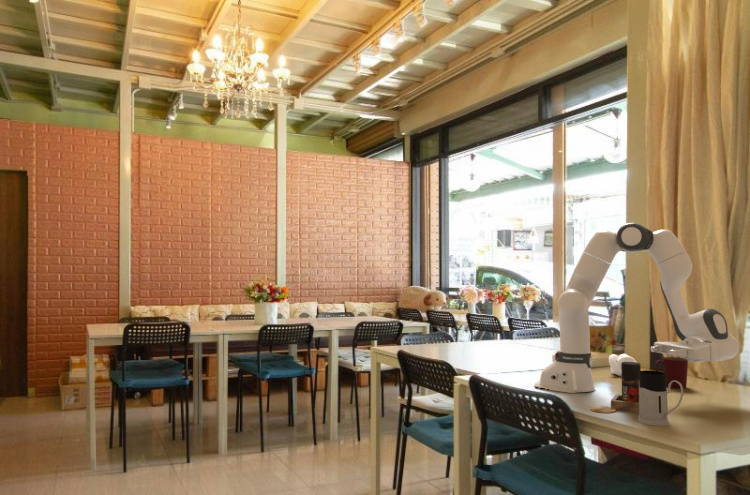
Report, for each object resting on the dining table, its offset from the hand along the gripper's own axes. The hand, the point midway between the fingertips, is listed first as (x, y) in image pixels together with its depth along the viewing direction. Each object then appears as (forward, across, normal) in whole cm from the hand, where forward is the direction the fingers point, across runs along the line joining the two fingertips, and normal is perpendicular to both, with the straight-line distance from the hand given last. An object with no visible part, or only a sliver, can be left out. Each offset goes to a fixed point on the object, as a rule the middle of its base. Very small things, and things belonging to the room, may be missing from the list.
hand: (661, 351), depth 203 cm
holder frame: (+12, 0, +18) cm, 22 cm away
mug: (-26, -26, +19) cm, 42 cm away
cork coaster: (+24, 0, +18) cm, 30 cm away
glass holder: (+17, +19, +19) cm, 32 cm away
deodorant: (+12, 0, +19) cm, 22 cm away
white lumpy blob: (-24, -54, +19) cm, 62 cm away
